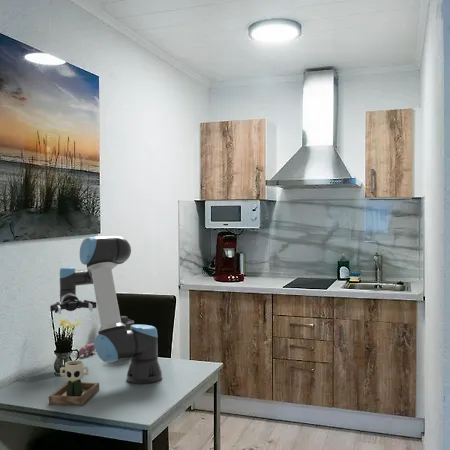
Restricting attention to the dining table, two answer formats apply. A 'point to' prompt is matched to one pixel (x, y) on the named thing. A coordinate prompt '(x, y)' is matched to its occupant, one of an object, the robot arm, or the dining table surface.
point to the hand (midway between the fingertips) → (76, 309)
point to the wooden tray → (62, 399)
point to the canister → (127, 322)
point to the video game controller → (86, 349)
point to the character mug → (74, 376)
